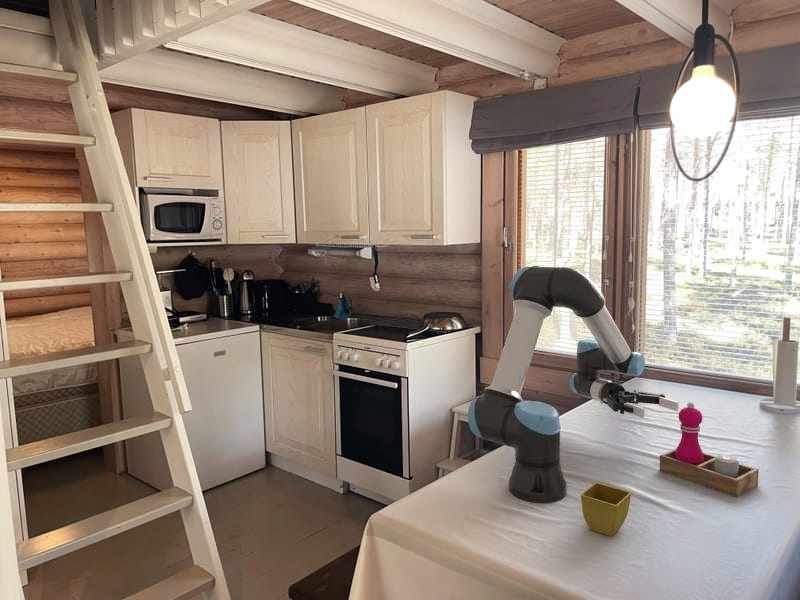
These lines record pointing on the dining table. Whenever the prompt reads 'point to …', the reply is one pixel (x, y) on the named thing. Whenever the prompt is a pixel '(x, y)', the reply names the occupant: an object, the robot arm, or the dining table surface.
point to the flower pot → (605, 508)
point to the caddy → (710, 474)
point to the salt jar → (727, 466)
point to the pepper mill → (690, 436)
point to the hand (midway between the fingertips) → (660, 409)
